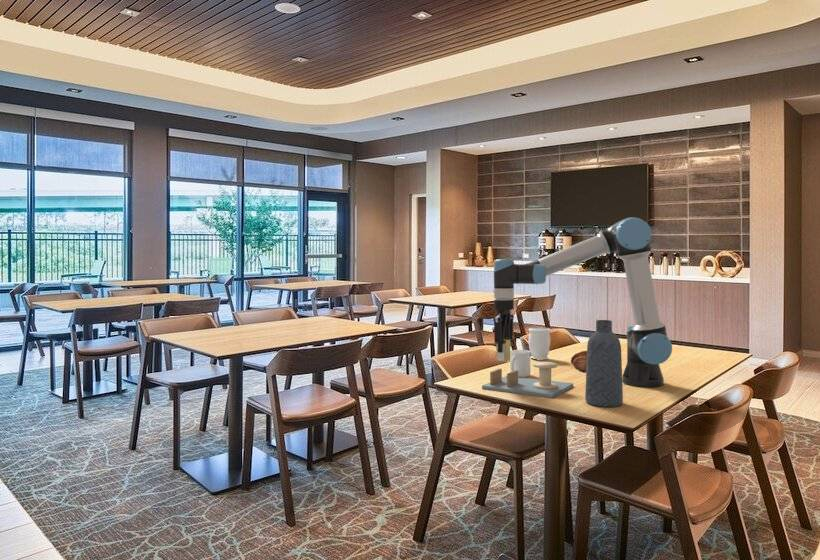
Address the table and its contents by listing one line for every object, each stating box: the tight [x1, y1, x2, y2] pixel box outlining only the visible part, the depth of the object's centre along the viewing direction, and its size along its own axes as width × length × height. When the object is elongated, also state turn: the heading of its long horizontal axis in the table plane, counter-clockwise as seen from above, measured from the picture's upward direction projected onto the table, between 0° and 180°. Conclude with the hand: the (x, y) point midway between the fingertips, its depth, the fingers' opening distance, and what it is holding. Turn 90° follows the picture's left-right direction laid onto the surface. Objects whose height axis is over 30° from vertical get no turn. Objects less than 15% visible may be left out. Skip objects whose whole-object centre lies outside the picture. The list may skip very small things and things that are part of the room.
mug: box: [509, 349, 531, 378], centre depth 243 cm, size 12×8×10 cm
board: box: [481, 361, 574, 399], centre depth 222 cm, size 28×22×10 cm
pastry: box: [570, 350, 587, 373], centre depth 259 cm, size 17×15×8 cm
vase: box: [584, 319, 624, 408], centre depth 197 cm, size 12×12×28 cm
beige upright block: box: [495, 339, 511, 362], centre depth 223 cm, size 4×4×8 cm
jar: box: [528, 327, 551, 360], centre depth 283 cm, size 11×10×15 cm
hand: (503, 359), depth 223 cm, fingers closed on beige upright block, 4 cm apart
